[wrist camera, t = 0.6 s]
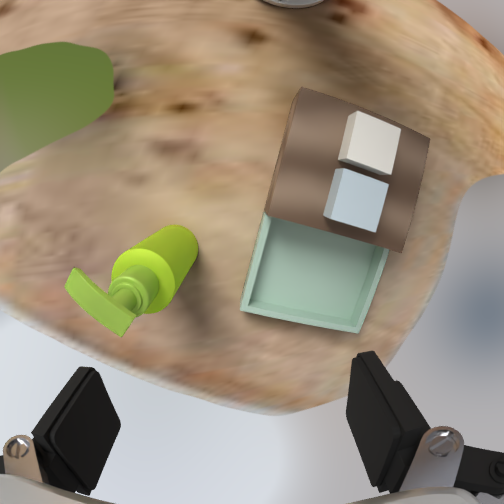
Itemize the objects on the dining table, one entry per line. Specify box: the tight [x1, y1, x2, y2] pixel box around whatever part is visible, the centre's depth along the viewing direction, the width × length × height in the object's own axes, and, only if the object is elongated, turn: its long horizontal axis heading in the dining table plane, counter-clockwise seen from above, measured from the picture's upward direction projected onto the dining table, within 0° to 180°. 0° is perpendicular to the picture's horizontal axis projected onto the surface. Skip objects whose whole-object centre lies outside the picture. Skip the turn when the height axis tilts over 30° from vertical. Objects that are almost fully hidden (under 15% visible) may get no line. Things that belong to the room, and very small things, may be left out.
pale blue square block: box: [323, 168, 389, 232], centre depth 29 cm, size 5×5×3 cm
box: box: [240, 212, 389, 334], centre depth 37 cm, size 12×16×3 cm
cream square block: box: [338, 111, 401, 175], centre depth 27 cm, size 5×5×3 cm
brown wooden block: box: [264, 87, 430, 253], centre depth 32 cm, size 14×16×6 cm
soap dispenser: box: [65, 225, 198, 337], centre depth 27 cm, size 6×7×20 cm
